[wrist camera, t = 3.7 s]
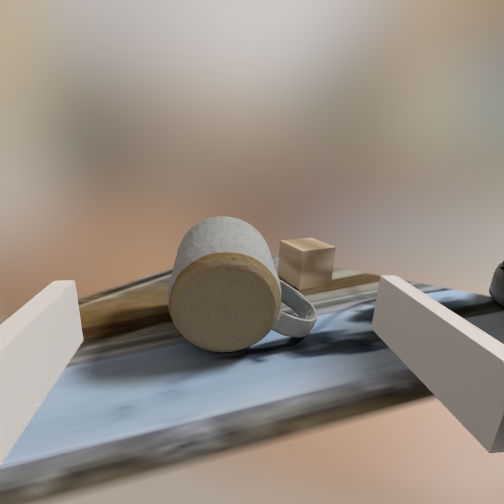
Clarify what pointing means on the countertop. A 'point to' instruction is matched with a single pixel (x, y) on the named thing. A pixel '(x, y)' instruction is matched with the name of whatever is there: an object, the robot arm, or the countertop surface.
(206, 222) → the ceramic mug
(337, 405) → the countertop surface
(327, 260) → the birch block
